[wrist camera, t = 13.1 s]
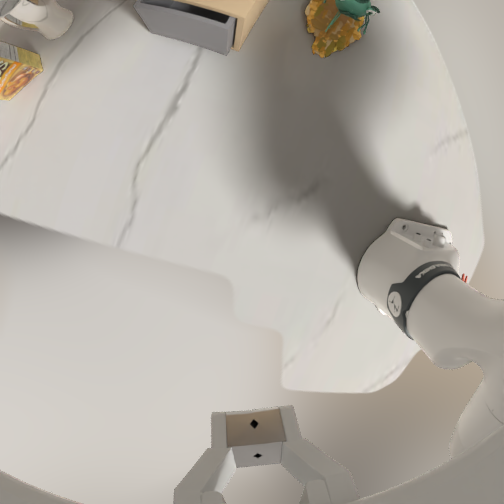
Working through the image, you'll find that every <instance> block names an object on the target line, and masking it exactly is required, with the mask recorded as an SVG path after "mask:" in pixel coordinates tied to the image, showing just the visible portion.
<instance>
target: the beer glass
mask: <svg viewBox="0 0 504 504" xmlns="http://www.w3.org/2000/svg"><path fill="white" fill-rule="evenodd" d="M0 20H1V21H3V22H4V23H6V24H8V25H10V26H13V27H16V28H19V29H25V30H32V31H37V32H40V33H41V34H42V35H43V36H44V37H45V38H46V39H49V40H54V39H57V38H59V37H60V36H62V35H63V34H64V33H65V32H66V31H67V30H68V29H69V27H70V26H71V24H72V22H73V13H72V12H71V11H70V10H68V9H65V8H62V7H61V6H59V5H58V3H57V2H56V1H55V0H0Z"/></svg>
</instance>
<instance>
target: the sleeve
mask: <svg viewBox="0 0 504 504" xmlns="http://www.w3.org/2000/svg"><path fill="white" fill-rule="evenodd" d="M136 1H137V0H136ZM174 1H178V2H182V3H187V4H191V5H195V6H198V7H202V8H206V9H209V10H212V11H216V12H219V13H222V14H225V15H228V16H231V17H234V18H237V26H236V34H235V41H234V43H233V45H232V47H231V49H233V50H236V51H238V52H239V50H240V48H241V46H242V45H243V43H244V41H245V39H246V38H247V36H248V34H249V33H250V31H251V29H252V27H253V26H254V24H255V22H256V21H257V19H258V18H259V16H260V14H261V13H262V11H263V9H264V8H265V6H266V5H267V3H268V2H269V0H174Z"/></svg>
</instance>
